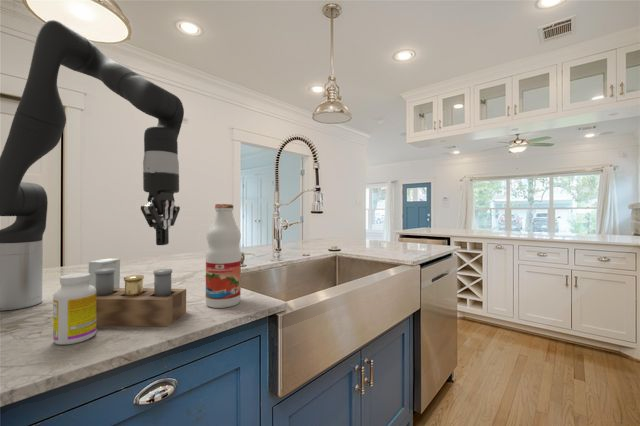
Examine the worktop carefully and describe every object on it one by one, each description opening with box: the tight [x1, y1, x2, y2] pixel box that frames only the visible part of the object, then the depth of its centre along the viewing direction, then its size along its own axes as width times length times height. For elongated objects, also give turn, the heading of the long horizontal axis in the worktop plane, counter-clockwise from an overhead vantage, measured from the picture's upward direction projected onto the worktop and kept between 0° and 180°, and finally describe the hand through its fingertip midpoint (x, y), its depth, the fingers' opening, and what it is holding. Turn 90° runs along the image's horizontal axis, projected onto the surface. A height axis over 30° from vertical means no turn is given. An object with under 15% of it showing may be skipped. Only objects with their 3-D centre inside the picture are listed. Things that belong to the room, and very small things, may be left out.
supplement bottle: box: [52, 272, 97, 346], centre depth 57 cm, size 7×7×13 cm
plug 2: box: [152, 268, 173, 297], centre depth 68 cm, size 4×4×7 cm
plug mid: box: [123, 274, 145, 296], centre depth 68 cm, size 4×4×7 cm
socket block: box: [96, 287, 187, 327], centre depth 68 cm, size 21×9×6 cm, turn 90°
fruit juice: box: [205, 203, 242, 309], centre depth 80 cm, size 9×9×28 cm
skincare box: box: [88, 257, 121, 288], centre depth 79 cm, size 6×4×12 cm
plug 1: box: [95, 268, 115, 296], centre depth 68 cm, size 4×4×7 cm
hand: (162, 244), depth 68 cm, fingers closed
